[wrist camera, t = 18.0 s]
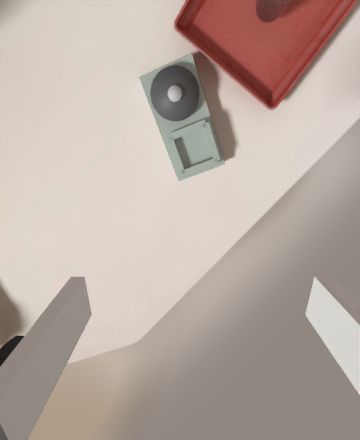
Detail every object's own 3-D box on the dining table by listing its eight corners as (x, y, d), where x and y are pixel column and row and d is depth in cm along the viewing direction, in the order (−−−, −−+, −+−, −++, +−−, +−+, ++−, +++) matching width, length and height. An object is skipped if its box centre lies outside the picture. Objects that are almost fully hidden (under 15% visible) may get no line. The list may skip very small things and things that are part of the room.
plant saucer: (172, 36, 33) (170, 26, 29) (255, -114, 27) (264, -146, 24) (265, 114, 36) (272, 112, 33) (355, -5, 31) (374, -21, 28)
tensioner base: (141, 80, 34) (136, 74, 31) (191, 58, 33) (192, 48, 29) (178, 178, 39) (178, 183, 36) (222, 162, 38) (226, 165, 35)
